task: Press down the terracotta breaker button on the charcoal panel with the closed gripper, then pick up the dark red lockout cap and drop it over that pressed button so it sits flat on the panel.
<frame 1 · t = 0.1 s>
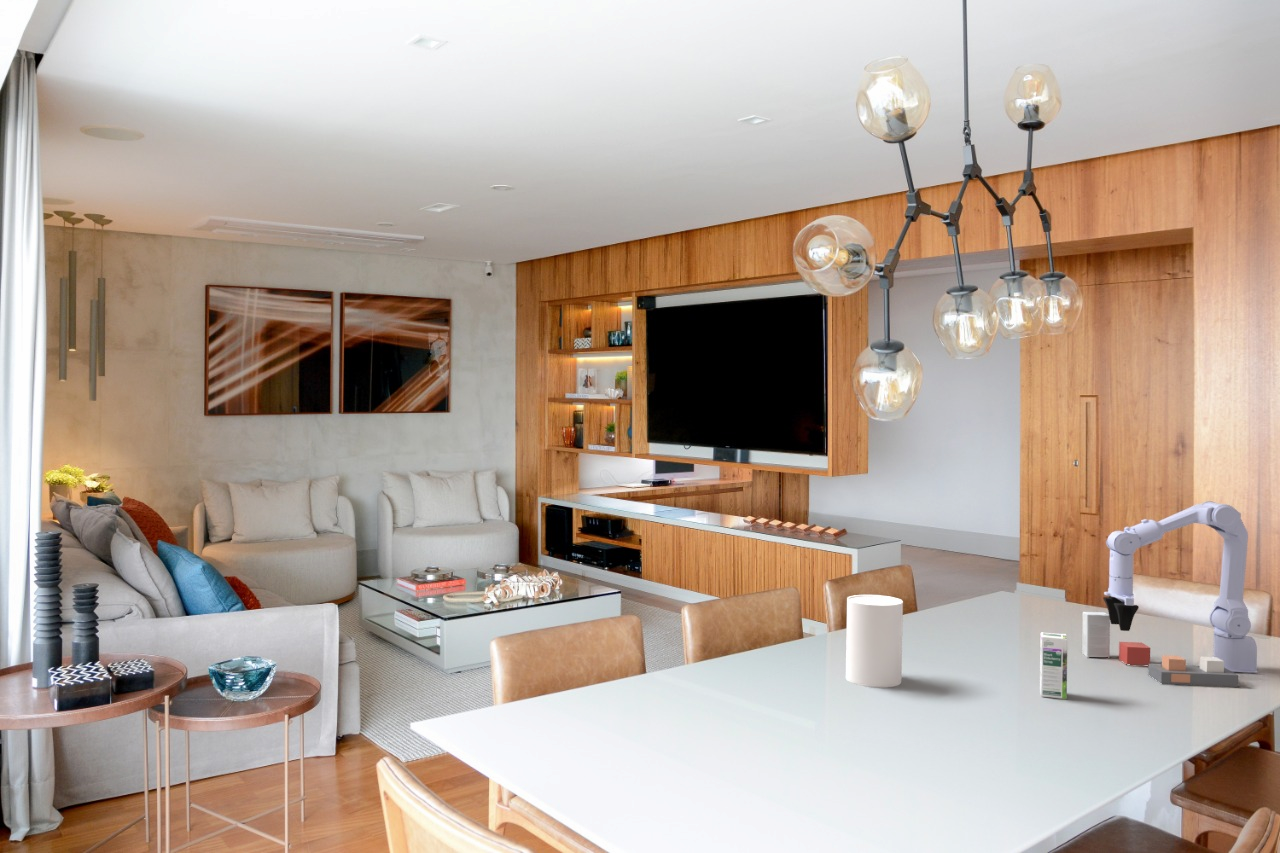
hand: (1120, 627, 260), 10 cm above the table, tool pointing down, fingers open, 7 cm apart
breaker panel: (1192, 681, 246), on the table
syrup box: (1052, 696, 232), on the table
skincare box: (1095, 657, 269), on the table
canister: (873, 680, 244), on the table
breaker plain: (1211, 665, 245), point 4 cm above the table, slide at 0.0 cm
lockout cap: (1134, 663, 262), on the table
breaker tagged: (1173, 664, 246), point 4 cm above the table, slide at 0.0 cm
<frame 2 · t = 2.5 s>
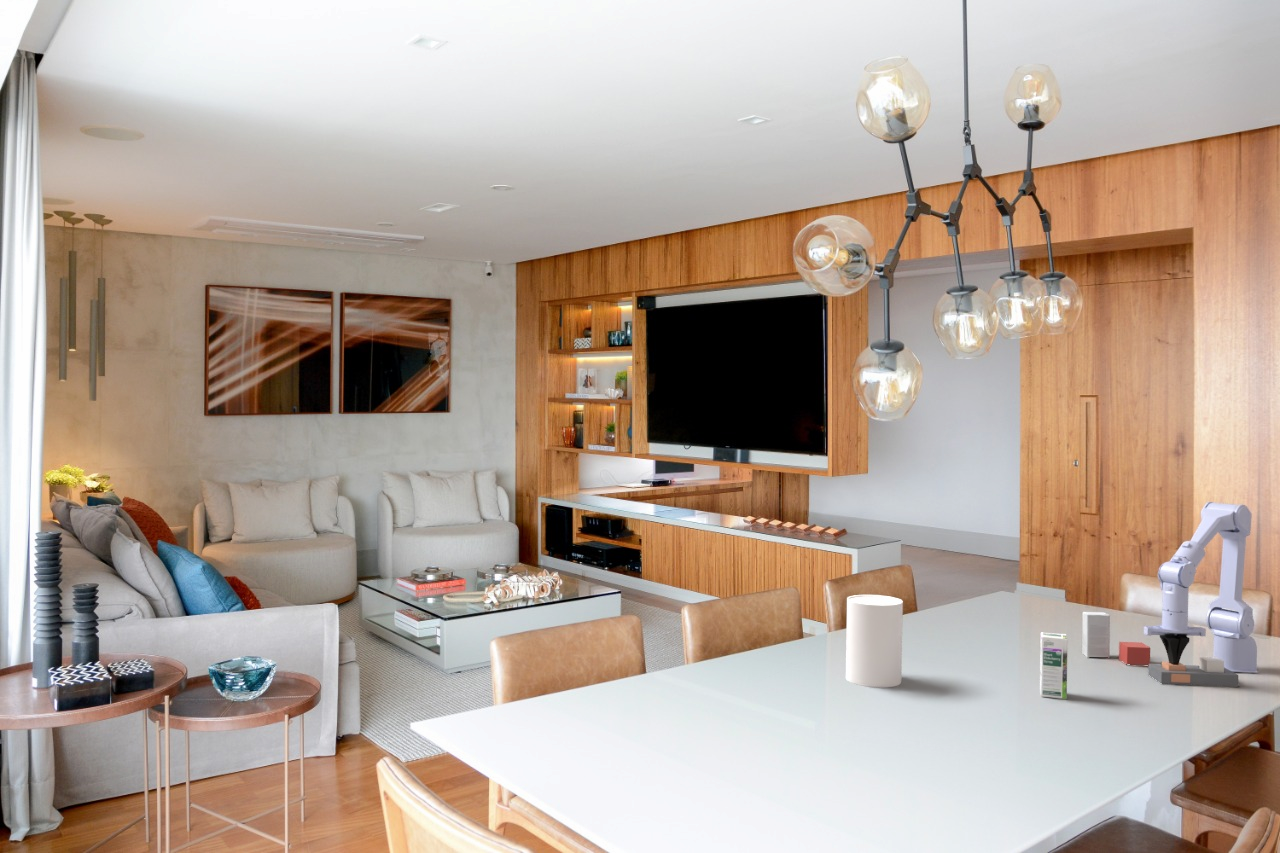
hand: (1173, 663, 246), 4 cm above the table, tool pointing down, fingers closed, pressing on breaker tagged
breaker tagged: (1173, 670, 246), point 2 cm above the table, slide at 1.6 cm, touching gripper
everything else where it was.
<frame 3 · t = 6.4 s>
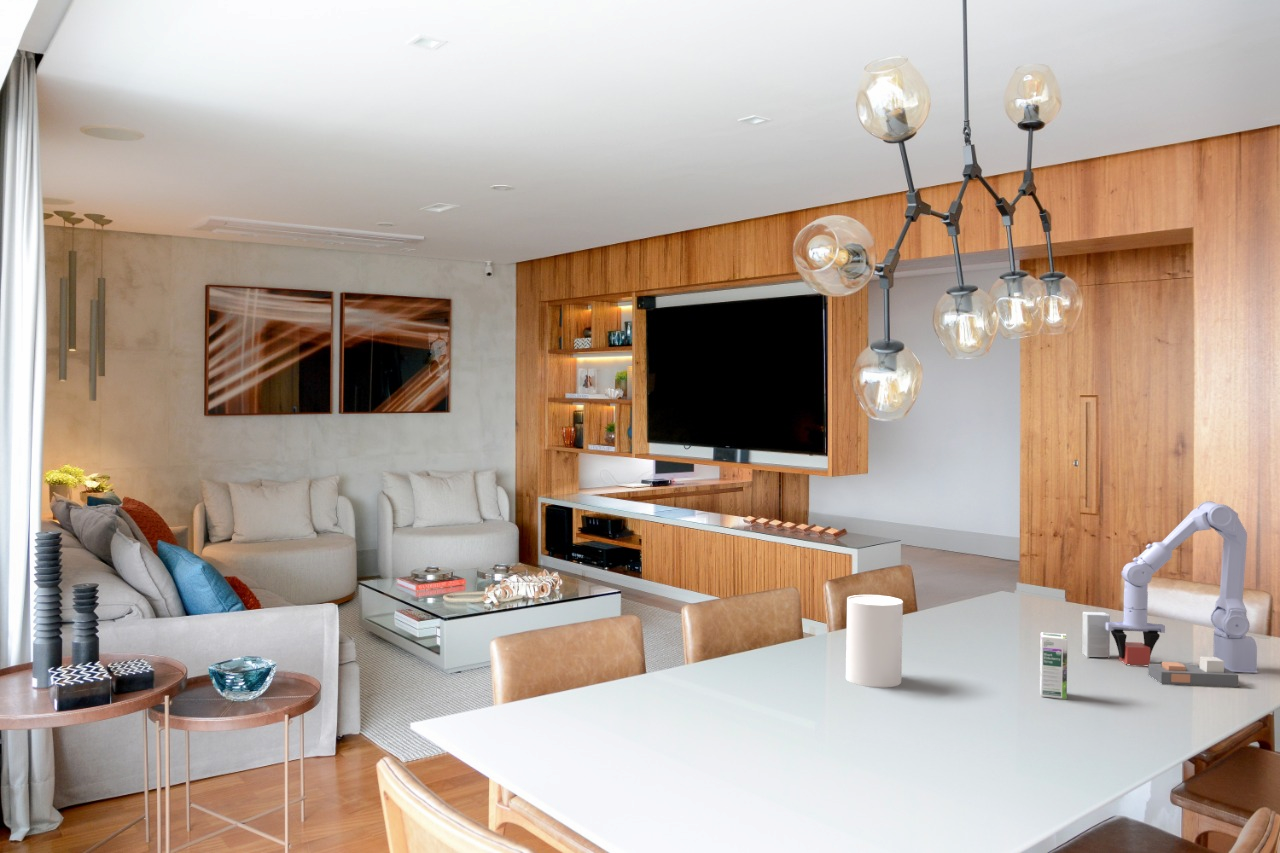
hand: (1134, 658, 262), 1 cm above the table, tool pointing down, fingers closed on lockout cap, 6 cm apart
lockout cap: (1134, 663, 262), on the table, touching gripper
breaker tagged: (1173, 671, 246), point 2 cm above the table, slide at 1.7 cm
everything else where it was.
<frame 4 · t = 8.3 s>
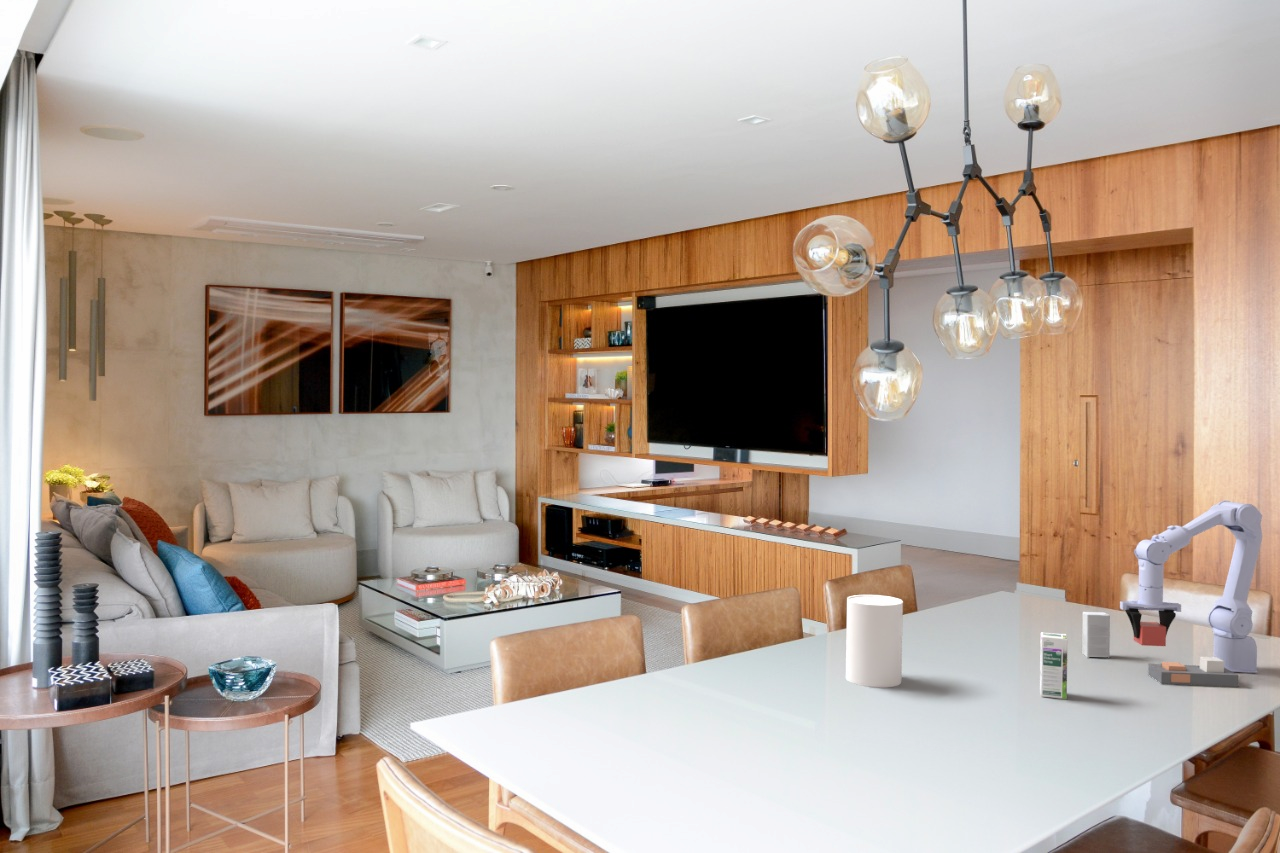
hand: (1149, 637, 256), 8 cm above the table, tool pointing down, fingers closed on lockout cap, 6 cm apart
lockout cap: (1149, 643, 256), point 7 cm above the table, touching gripper
everything else where it was.
when the fingers open (6 cm above the table, at t = 10.2 s): lockout cap drops 1 cm, resting on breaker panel.
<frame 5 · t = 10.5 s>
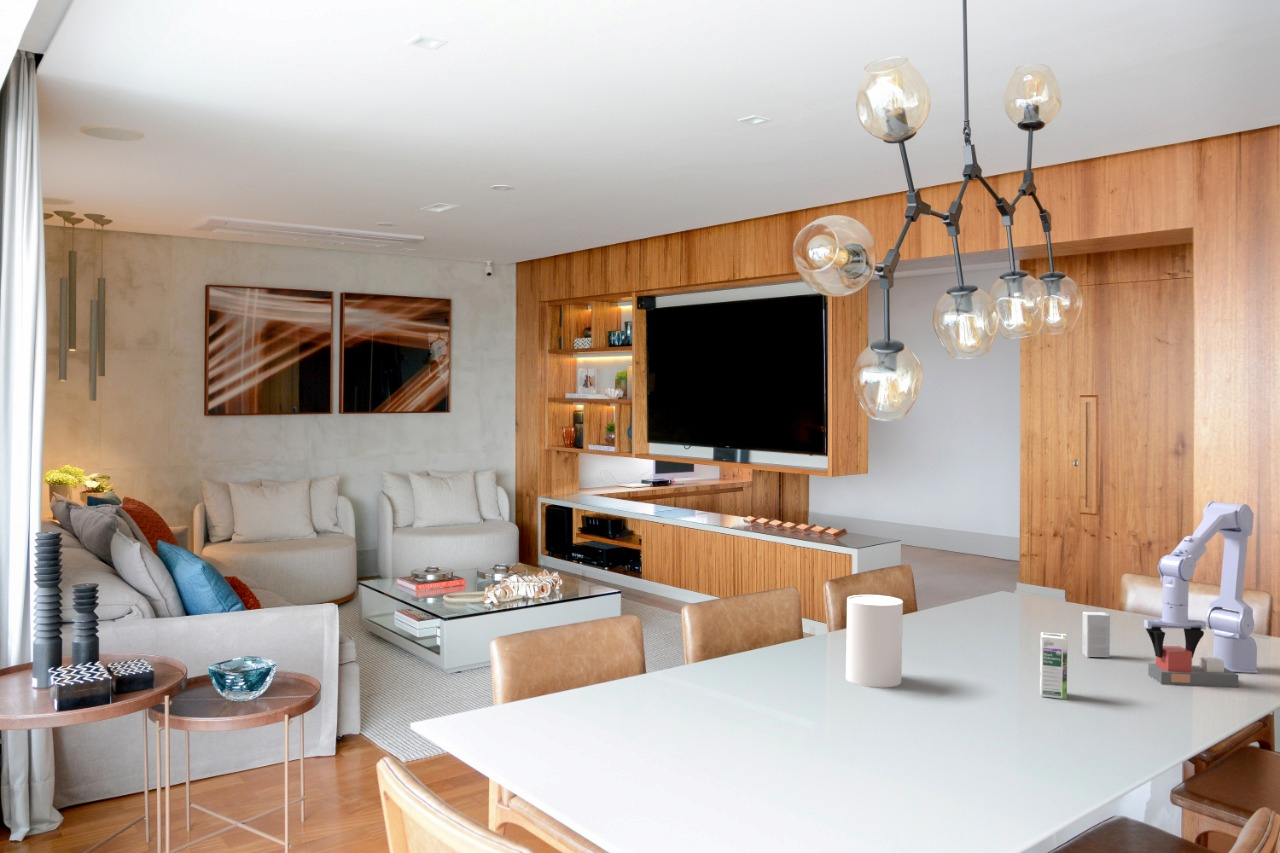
hand: (1174, 657, 246), 6 cm above the table, tool pointing down, fingers open, 7 cm apart
lockout cap: (1173, 668, 246), point 3 cm above the table, touching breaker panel
everything else where it was.
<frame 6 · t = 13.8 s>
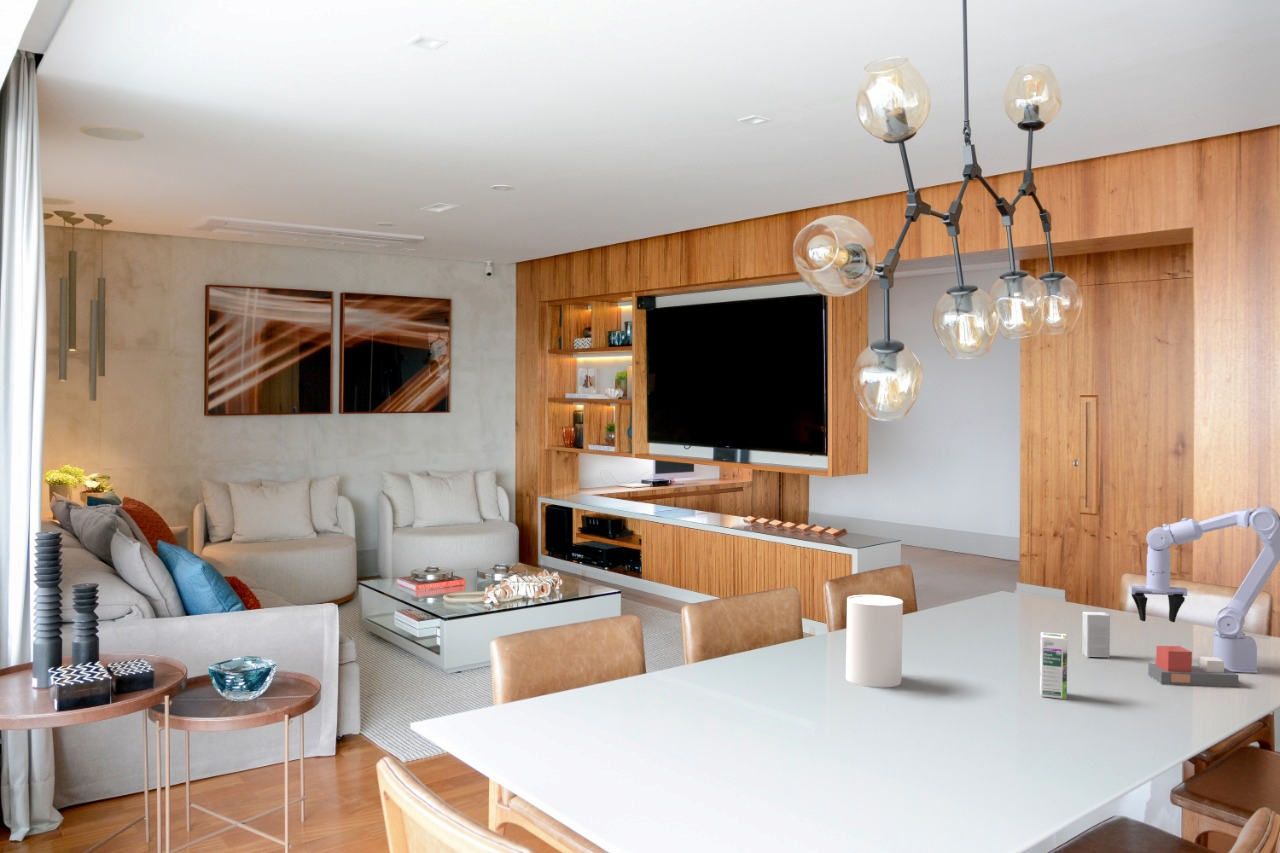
hand: (1157, 620, 267), 10 cm above the table, tool pointing down, fingers open, 7 cm apart
nothing on the table moved.
at the end: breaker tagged slide at 1.7 cm; lockout cap 0.1 cm from the target spot, point 3.0 cm above the table; lockout cap tilted 0° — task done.
